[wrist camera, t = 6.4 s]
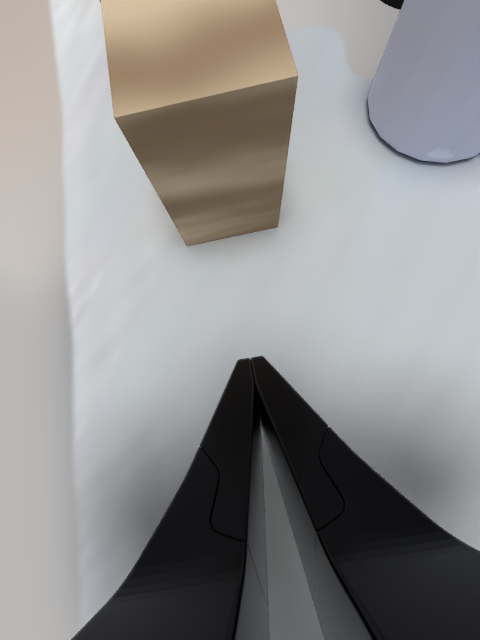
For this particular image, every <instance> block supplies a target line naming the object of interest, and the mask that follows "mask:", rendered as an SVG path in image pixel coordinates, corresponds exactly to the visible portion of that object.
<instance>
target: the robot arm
mask: <svg viewBox="0 0 480 640" xmlns="http://www.w3.org/2000/svg"><path fill="white" fill-rule="evenodd" d="M259 414H260V415H259ZM260 420H261V422H260ZM261 425H262V429H263V432H264V436H265V439H266V443H267V446H268V449H269V453H270V456H271V460H272V463H273V466H274V470H275V473H276V477H277V480H278V483H279V487H280V490H281V494H282V497H283V500H284V504H285V507H286V510H287V514H288V517H289V521H290V524H291V527H292V531H293V534H294V538H295V541H296V544H297V548H298V551H299V555H300V558H301V561H302V565H303V568H304V571H305V575H306V578H307V582H308V585H309V588H310V592H311V595H312V599H313V601H314V606H315V609H316V612H317V616H318V619H319V622H320V626H321V629H322V633H323V636H324V639H325V640H480V551H478V550H476V549H474V548H473V547H471V546H469V545H467V544H465V543H464V542H462V541H461V540H459V539H457V538H456V537H454V536H453V535H451V534H450V533H448V532H447V531H445V530H444V529H443V528H441V527H440V526H439V525H437V524H436V523H435V522H434V521H432V520H431V519H430V518H429V517H428V516H427V515H425V514H424V513H423V512H422V511H421V510H420V509H418V508H417V507H416V506H415V505H414V504H413V503H411V502H410V501H409V500H408V499H407V498H406V497H405V496H403V495H402V494H401V493H400V492H399V491H398V490H396V489H395V488H394V487H393V486H392V485H391V484H390V483H388V482H387V481H386V480H385V479H384V478H383V477H381V476H380V475H379V474H378V473H377V472H376V471H374V470H373V469H372V468H371V467H370V466H369V465H368V464H367V463H366V462H365V461H363V460H362V459H361V458H360V457H359V456H358V455H357V454H356V453H355V452H354V451H353V450H352V449H351V448H350V447H349V446H348V445H347V444H346V443H345V442H344V441H343V440H342V439H341V438H340V437H339V436H338V435H337V434H336V433H335V432H334V431H333V430H332V429H331V428H330V427H328V425H327V424H326V423H325V421H324V420H323V419H322V418H321V417H320V416H319V415H318V414H317V413H316V412H315V411H314V410H313V409H312V408H311V407H310V405H309V404H308V403H307V402H306V401H305V400H304V399H303V398H302V397H301V396H300V395H299V394H298V393H297V392H296V391H295V389H294V388H293V387H292V386H291V385H290V384H289V383H288V382H287V381H286V380H285V379H284V378H283V377H282V376H281V375H280V373H279V372H278V371H277V370H276V369H275V368H274V367H273V366H272V365H271V364H270V363H269V362H268V361H267V360H266V359H265V358H264V357H263V356H258V357H252V358H251V360H250V358H246V359H239V360H238V361H237V363H236V365H235V367H234V370H233V372H232V374H231V376H230V379H229V381H228V383H227V385H226V388H225V390H224V392H223V394H222V397H221V399H220V401H219V403H218V406H217V408H216V410H215V412H214V415H213V417H212V419H211V421H210V424H209V426H208V428H207V430H206V433H205V435H204V437H203V439H202V442H201V444H200V447H199V448H198V450H197V453H196V455H195V457H194V459H193V462H192V464H191V466H190V468H189V470H188V472H187V474H186V476H185V478H184V480H183V482H182V484H181V486H180V487H179V489H178V491H177V493H176V495H175V497H174V498H173V500H172V502H171V504H170V505H169V507H168V509H167V511H166V512H165V514H164V516H163V518H162V519H161V521H160V523H159V524H158V526H157V528H156V530H155V531H154V533H153V535H152V537H151V538H150V540H149V542H148V543H147V545H146V547H145V549H144V550H143V552H142V554H141V556H140V557H139V559H138V561H137V562H136V564H135V566H134V567H133V569H132V570H131V572H130V573H129V575H128V576H127V578H126V579H125V581H124V582H123V583H122V585H121V586H120V587H119V589H118V590H117V591H116V592H115V594H114V595H113V596H112V597H111V598H110V600H109V601H108V602H107V603H106V604H105V605H104V606H103V607H102V608H101V609H100V610H99V611H98V612H97V613H96V614H95V615H94V616H93V618H92V619H91V620H90V621H89V622H88V623H87V624H86V625H85V626H84V627H83V628H82V629H81V630H80V631H79V632H78V633H77V634H76V635H75V636H74V637H73V638H72V639H71V640H270V634H269V611H268V584H267V559H266V534H265V509H264V484H263V459H262V434H261Z"/></svg>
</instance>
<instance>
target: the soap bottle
mask: <svg viewBox="0 0 480 640" xmlns="http://www.w3.org/2000/svg"><path fill="white" fill-rule="evenodd" d="M368 106H369V115H370V120H371V122H372V124H373V125H374V127H375V129H376V130H377V132H378V134H379V136H380V137H381V138H382V139H383V140H385V141H386V142H387V143H388V144H390V145H391V146H392V147H393V148H394V149H396V150H397V151H398V152H401V153H403V154H406V155H408V156H411V157H413V158H416V159H418V160H421V161H432V162H443V163H447V162H452V161H457V160H462V159H467V158H471V157H473V156H476V155H477V154H479V153H480V0H404V2H403V5H402V8H401V10H400V13H399V15H398V18H397V20H396V23H395V25H394V28H393V31H392V33H391V35H390V38H389V41H388V43H387V46H386V48H385V51H384V53H383V56H382V58H381V61H380V64H379V66H378V69H377V71H376V74H375V76H374V79H373V82H372V85H371V88H370V91H369V94H368Z"/></svg>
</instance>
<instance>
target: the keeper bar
mask: <svg viewBox="0 0 480 640" xmlns="http://www.w3.org/2000/svg"><path fill="white" fill-rule="evenodd" d="M101 8H102V17H103V25H104V34H105V43H106V51H107V60H108V69H109V77H110V86H111V95H112V103H113V112H114V118H115V120H116V122H117V124H118V125H119V127H120V129H121V131H122V132H123V134H124V136H125V138H126V139H127V141H128V143H129V145H130V147H131V148H132V150H133V152H134V154H135V155H136V157H137V159H138V161H139V162H140V164H141V166H142V168H143V169H144V171H145V173H146V175H147V176H148V178H149V180H150V182H151V183H152V185H153V187H154V189H155V191H156V192H157V194H158V196H159V198H160V199H161V201H162V203H163V205H164V206H165V208H166V210H167V212H168V213H169V215H170V217H171V219H172V220H173V222H174V224H175V226H176V228H177V229H178V231H179V233H180V235H181V236H182V238H183V240H184V242H185V243H186V245H187V246H191V245H195V244H200V243H205V242H209V241H214V240H219V239H224V238H228V237H233V236H238V235H242V234H247V233H252V232H257V231H261V230H266V229H271V228H275V227H278V221H279V214H280V207H281V199H282V192H283V184H284V177H285V170H286V162H287V155H288V147H289V140H290V132H291V125H292V118H293V110H294V103H295V95H296V88H297V81H298V73H297V70H296V67H295V63H294V60H293V57H292V53H291V50H290V47H289V44H288V40H287V37H286V34H285V30H284V27H283V24H282V21H281V17H280V14H279V10H278V7H277V4H276V0H101Z"/></svg>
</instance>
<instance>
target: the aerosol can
mask: <svg viewBox="0 0 480 640" xmlns="http://www.w3.org/2000/svg"><path fill="white" fill-rule="evenodd" d="M381 1H382V2H384V3H385V4H387V5H389V6H392V7H394V8H397V9H400V10H401V8H402V5H403V2H404V0H381Z"/></svg>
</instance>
